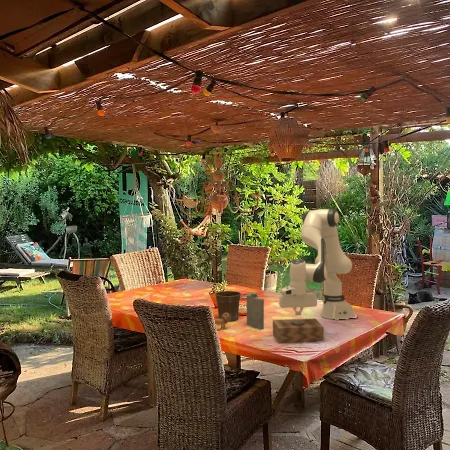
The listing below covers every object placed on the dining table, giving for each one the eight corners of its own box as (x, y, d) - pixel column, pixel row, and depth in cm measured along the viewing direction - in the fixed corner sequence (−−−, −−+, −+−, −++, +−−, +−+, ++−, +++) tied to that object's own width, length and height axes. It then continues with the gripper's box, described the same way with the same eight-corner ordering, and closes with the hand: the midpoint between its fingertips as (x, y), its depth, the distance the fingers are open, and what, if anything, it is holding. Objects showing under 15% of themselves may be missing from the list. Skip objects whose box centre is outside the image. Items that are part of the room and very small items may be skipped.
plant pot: (211, 317, 294) (211, 291, 292) (235, 314, 300) (234, 289, 298) (220, 323, 278) (220, 297, 277) (245, 320, 284) (245, 294, 283)
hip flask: (264, 329, 267) (264, 294, 266) (258, 330, 265) (258, 295, 264) (250, 322, 281) (250, 289, 280) (244, 323, 279) (244, 290, 278)
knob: (302, 331, 254) (302, 319, 254) (305, 335, 248) (305, 323, 247) (289, 332, 254) (289, 319, 253) (292, 335, 247) (292, 323, 247)
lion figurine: (226, 326, 273) (226, 311, 272) (231, 328, 269) (231, 313, 268) (205, 330, 265) (204, 315, 264) (209, 333, 261) (209, 317, 260)
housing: (315, 332, 260) (315, 318, 259) (323, 341, 244) (323, 326, 243) (272, 334, 258) (272, 319, 257) (278, 343, 242) (278, 328, 241)
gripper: (315, 287, 253) (315, 312, 254) (278, 289, 251) (278, 314, 252) (318, 290, 247) (318, 315, 248) (280, 291, 245) (280, 317, 246)
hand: (298, 315), depth 250 cm, fingers closed
